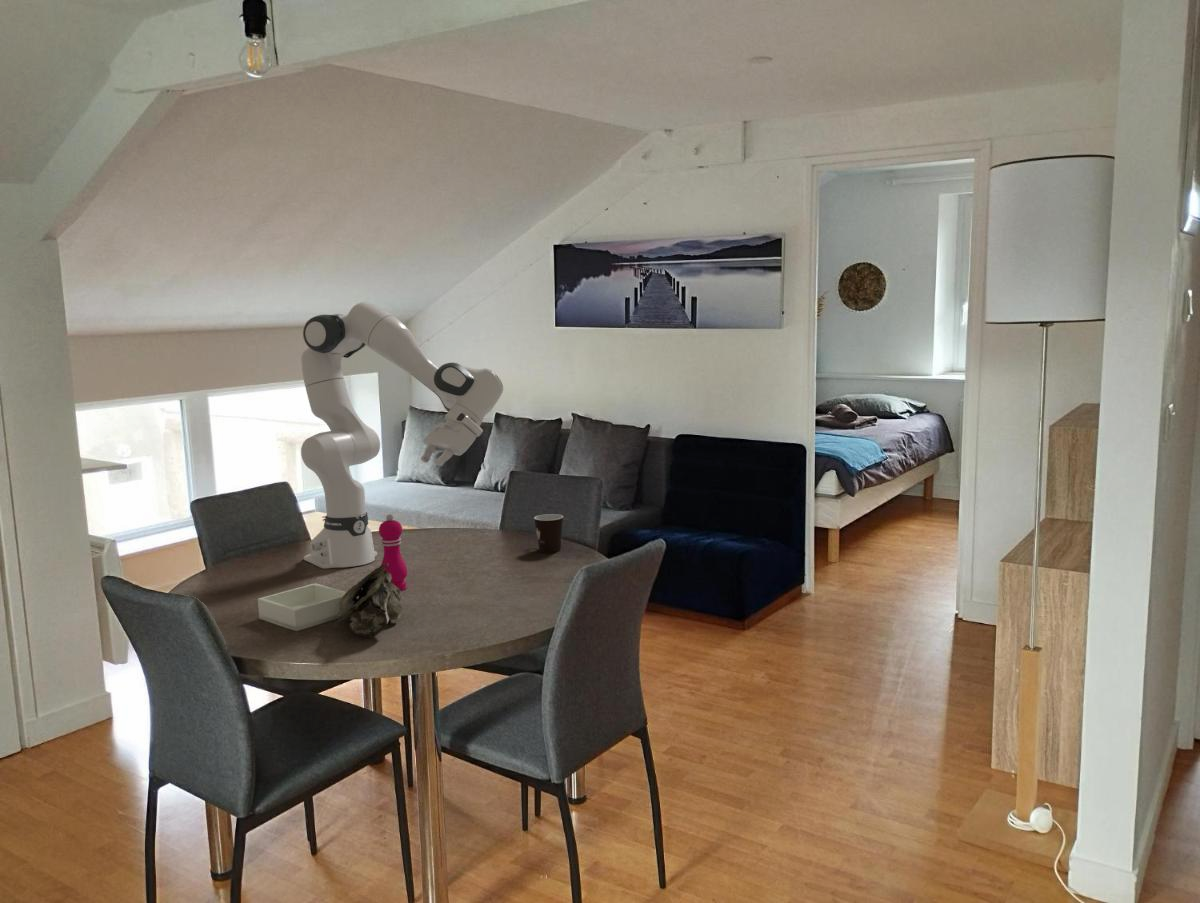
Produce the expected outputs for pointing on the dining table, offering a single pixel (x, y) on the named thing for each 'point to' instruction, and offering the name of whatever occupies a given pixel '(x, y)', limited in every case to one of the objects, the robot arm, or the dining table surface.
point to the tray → (301, 606)
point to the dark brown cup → (549, 532)
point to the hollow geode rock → (372, 603)
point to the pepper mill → (393, 551)
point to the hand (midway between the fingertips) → (430, 463)
